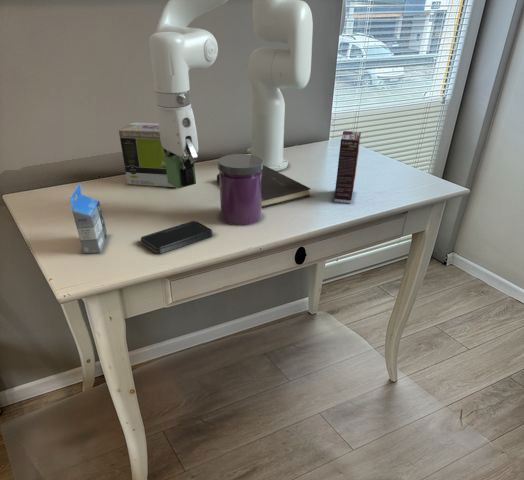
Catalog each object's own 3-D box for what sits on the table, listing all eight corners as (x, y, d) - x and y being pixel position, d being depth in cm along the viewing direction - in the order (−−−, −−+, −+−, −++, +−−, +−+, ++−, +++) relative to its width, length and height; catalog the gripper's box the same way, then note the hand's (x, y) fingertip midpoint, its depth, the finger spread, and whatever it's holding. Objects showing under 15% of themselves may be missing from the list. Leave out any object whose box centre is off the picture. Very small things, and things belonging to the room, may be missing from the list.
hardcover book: (263, 172, 149) (263, 164, 147) (309, 196, 134) (310, 188, 132) (216, 182, 142) (216, 174, 140) (260, 208, 127) (260, 199, 125)
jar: (212, 215, 123) (209, 159, 115) (245, 205, 128) (244, 151, 120) (236, 229, 117) (235, 171, 108) (270, 218, 122) (272, 162, 113)
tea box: (188, 177, 145) (183, 123, 136) (177, 188, 137) (172, 132, 128) (139, 173, 147) (131, 120, 138) (126, 185, 139) (117, 129, 130)
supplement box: (351, 204, 130) (359, 140, 120) (333, 202, 131) (339, 139, 121) (353, 192, 137) (361, 131, 127) (336, 190, 137) (342, 130, 127)
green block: (167, 182, 120) (164, 157, 117) (185, 178, 123) (182, 153, 119) (178, 188, 117) (175, 163, 114) (196, 183, 120) (194, 158, 116)
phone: (214, 231, 113) (157, 249, 105) (214, 235, 114) (157, 254, 106) (194, 220, 118) (138, 237, 110) (195, 224, 118) (139, 241, 110)
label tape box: (101, 253, 106) (89, 197, 99) (81, 254, 106) (68, 198, 98) (107, 235, 113) (97, 182, 106) (89, 236, 113) (77, 182, 105)
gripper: (209, 104, 105) (214, 188, 116) (168, 90, 115) (177, 168, 127) (178, 109, 101) (186, 195, 113) (139, 94, 112) (151, 175, 123)
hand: (181, 180), depth 120 cm, fingers closed on green block, 5 cm apart
